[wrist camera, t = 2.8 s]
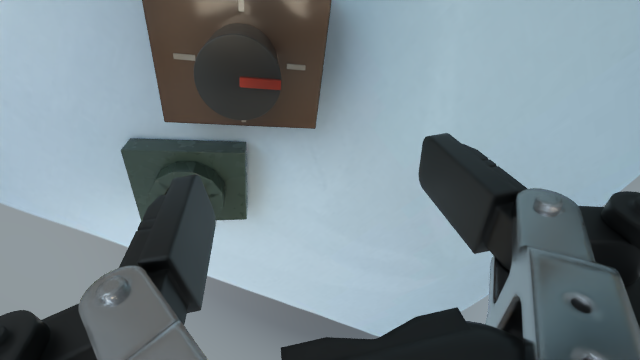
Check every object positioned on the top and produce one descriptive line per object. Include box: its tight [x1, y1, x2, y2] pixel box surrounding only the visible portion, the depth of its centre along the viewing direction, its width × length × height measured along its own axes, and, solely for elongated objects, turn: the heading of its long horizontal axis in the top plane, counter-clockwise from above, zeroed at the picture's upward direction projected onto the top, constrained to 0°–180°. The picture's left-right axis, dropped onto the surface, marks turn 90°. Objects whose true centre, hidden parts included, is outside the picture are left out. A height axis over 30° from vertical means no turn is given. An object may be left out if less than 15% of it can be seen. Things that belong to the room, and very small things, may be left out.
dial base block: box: [142, 0, 331, 129], centre depth 22 cm, size 12×10×3 cm
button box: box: [121, 139, 247, 221], centre depth 27 cm, size 10×8×4 cm
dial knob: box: [194, 23, 282, 120], centre depth 19 cm, size 5×5×5 cm
